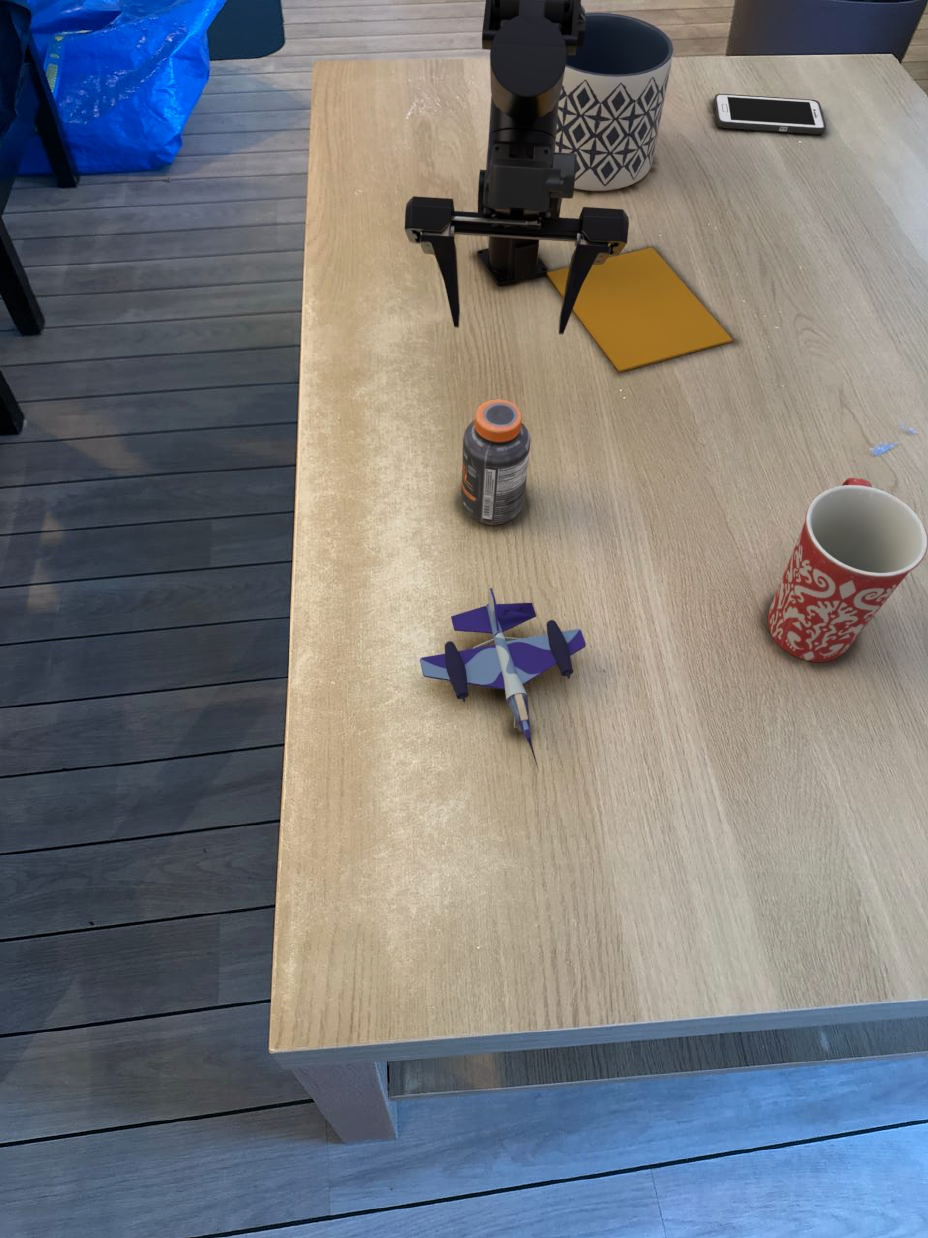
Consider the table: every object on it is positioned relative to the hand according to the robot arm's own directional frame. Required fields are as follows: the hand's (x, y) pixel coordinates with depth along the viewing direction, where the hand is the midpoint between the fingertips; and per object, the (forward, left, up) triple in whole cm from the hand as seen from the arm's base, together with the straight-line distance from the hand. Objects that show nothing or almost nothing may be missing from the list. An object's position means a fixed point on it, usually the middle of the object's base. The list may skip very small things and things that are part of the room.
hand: (508, 330), depth 84 cm
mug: (+29, +17, -14) cm, 36 cm away
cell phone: (-44, +60, -14) cm, 76 cm away
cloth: (-14, +23, -14) cm, 30 cm away
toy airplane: (+26, -11, -14) cm, 31 cm away
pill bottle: (+7, -4, -14) cm, 16 cm away
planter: (-43, +32, -14) cm, 55 cm away
